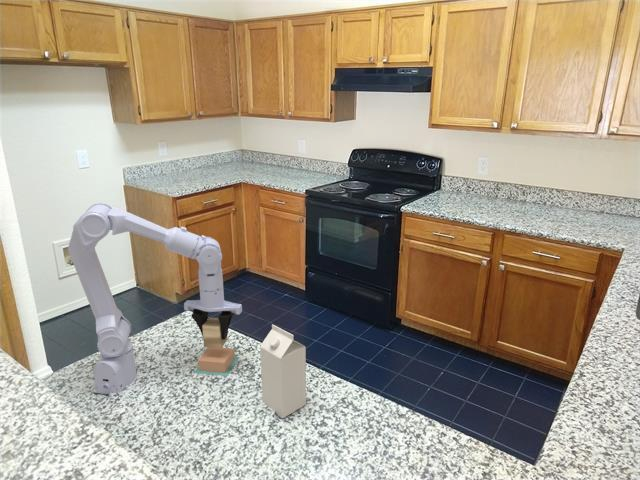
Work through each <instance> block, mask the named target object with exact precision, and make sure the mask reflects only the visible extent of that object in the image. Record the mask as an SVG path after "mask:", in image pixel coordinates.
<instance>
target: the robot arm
mask: <svg viewBox="0 0 640 480" xmlns="http://www.w3.org/2000/svg"><path fill="white" fill-rule="evenodd" d="M72 229H73V230H72V233H71V237H70V240H69V243H68V246H67V249H68V253H69V256H70V258H71V261H72V263H73V264H72V265H73V266H74V269H75V272H76V274H77V276H78V278H79V280H80V284H81V286H82V289H83V291H84V294H85V296H86V299H87V302H88V304H89V306H90V309H91V312H92V314H93V316H94V318H95V332H96V335H97V346H96V347H97V351H98V352H99V353H100V356H99V359H98V360H97V362H96V363H95V364H94V365H93V370H92V373H93V381H94V386H95V388H94V389H93V391H92V392H93V393H95V394H103V395H111V394H120V393H121V392H123V390H124V389H125V388H126V387H127V386H128V385H130V384H131V383H134V381H136V379H137V367H136V360H135V359H136V358H135V353H134V346H133V343H132V341H131V339H130V338H129V336H130V334H131V330H132V324H131V322H130V321H129V320H128V319H127V318H125V316H124V315H123V312H122V311H121V310H120V308H118V307H117V304H116V302H115V299H114V297H113V293H112V291H111V288H110V286H109V283H108V280H107V277H106V276H105V272H104V270H103V268H102V265H101V262H100V259H99V257H98V254H97V251H96V247H97V245H98V243H99V242H100V241H101V240H103V239H104V238H105V237H107V236H108V234H109V232H110V231H112V234H111V235H112V236H116V235H119V234H124V233H128V232H129V233H131V234H135V235H139V236H142V237H145V238H148V239H150V240H152V241H153V240H154V241H157V242H160V243H162V244H163V245H164V248H165V250H167V251H169V252H172V253H175V254H177V255H181V256H184V257H185V258H189V259H192V260H196V261H197V263H198V270H197V273H198V274H197V275H198V284H199V296H200V297H199V298H200V299H197V300H193V299H192V300H191V299H190V300H189V299H188V300H187V299H186V301H185V302H184V303H183V306H184V307H183V309H184V311H190V310H192V311H193V312H192V313H191V318H192V319H193V321H194V322H195V324H196V325H197V327H198V328H199V331H200V333H201V336H202V337H203V328H202V325H203V324H204V323H205V322H206V321H207V320H208V319H209V313H210V312H211V313H213V312H214V313H216V312H217V313H220V314H219V315H218V317H217V318H218V319H219V322H220V326H221V337H222V340H225V339H226V337H227V338H228V333H229V327H230V324H231V321H232V318H233V316H234V314H235V315H240V314H241V313H242V312H243V306H242V305H243V304H241V303H235V302H231V301H229V300H225V295H224V294H225V293H224V292H225V290H224V278H223V277H224V275H223V268H222V260H223V254H222V250H221V245H220V243H219V242H218V240H216V239H214V238H213V237H211V236H206V235H204V234H201V236H200V235H199V234H196V233H193V232H190V231H188V230H187V228H186V227H185V226H180V227H177V226H174V227H171V228H166V227H164V226H161V225H158V224H156V223H154V222H152V221H150V220H147V219H145V218H142V217H141V216H138V215H135V214H134V213H131V212H128V211H126V210H124V209H122V208H120V207H116V206H111V205H109V204H107V203H103V202H99V203H98V202H97V203H93V204H92V205H90V206H89V208H88V209H86V211H85V212H84V213H83V214H81V216H80V217H79V218H78V219H77V220H76V222H75V223H74V224H73V226H72Z"/></svg>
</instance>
